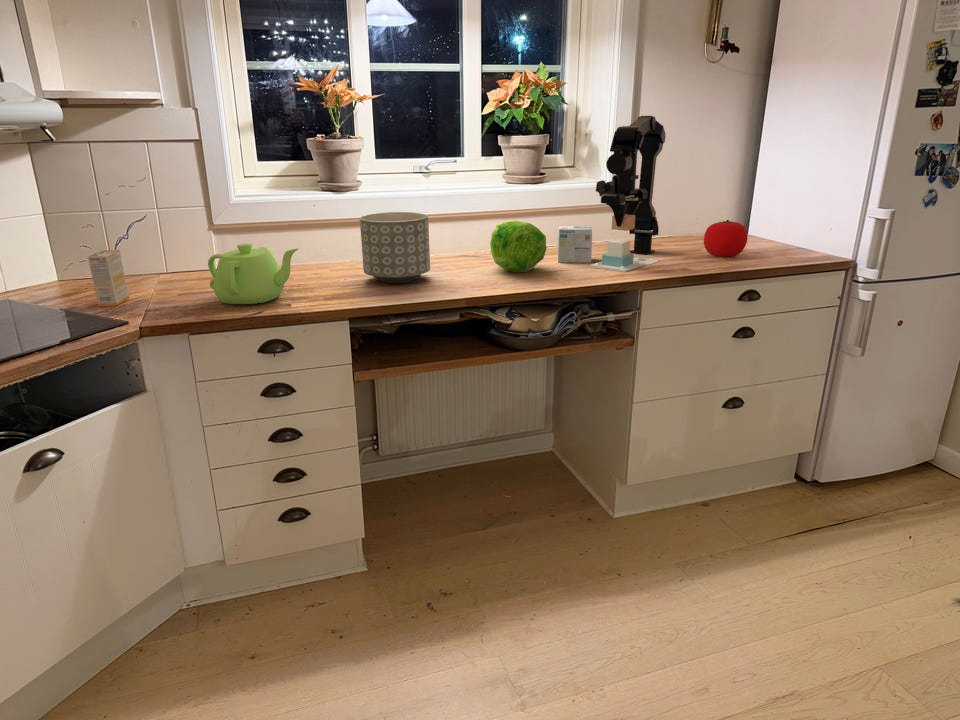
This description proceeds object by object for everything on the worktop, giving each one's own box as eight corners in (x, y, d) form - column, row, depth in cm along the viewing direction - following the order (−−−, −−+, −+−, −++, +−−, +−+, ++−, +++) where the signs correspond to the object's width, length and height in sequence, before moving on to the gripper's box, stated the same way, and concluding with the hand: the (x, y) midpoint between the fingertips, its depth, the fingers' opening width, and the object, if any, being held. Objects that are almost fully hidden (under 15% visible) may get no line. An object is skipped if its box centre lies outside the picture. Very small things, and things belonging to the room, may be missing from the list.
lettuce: (526, 269, 217) (530, 221, 214) (552, 276, 199) (556, 223, 195) (477, 267, 212) (480, 217, 209) (498, 274, 193) (502, 220, 190)
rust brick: (619, 227, 208) (620, 213, 207) (634, 228, 205) (635, 215, 204) (611, 229, 205) (612, 215, 203) (626, 230, 202) (627, 217, 200)
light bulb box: (590, 258, 220) (592, 225, 217) (591, 263, 214) (593, 228, 210) (557, 258, 221) (558, 225, 218) (557, 263, 215) (558, 228, 211)
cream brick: (614, 252, 211) (615, 239, 210) (629, 254, 208) (630, 241, 207) (606, 254, 208) (607, 241, 206) (621, 256, 205) (622, 243, 203)
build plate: (610, 260, 217) (610, 249, 216) (644, 265, 210) (645, 253, 209) (590, 266, 209) (590, 255, 207) (625, 272, 201) (625, 260, 200)
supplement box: (111, 298, 180) (101, 249, 175) (129, 298, 180) (120, 249, 176) (97, 307, 172) (86, 256, 168) (117, 306, 172) (106, 255, 168)
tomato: (717, 261, 214) (721, 224, 210) (695, 253, 226) (698, 218, 222) (753, 259, 217) (758, 222, 213) (729, 251, 229) (733, 216, 225)
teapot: (204, 298, 180) (196, 243, 175) (277, 286, 191) (271, 234, 186) (227, 313, 166) (219, 254, 161) (305, 299, 177) (299, 244, 172)
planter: (403, 269, 208) (399, 209, 202) (444, 279, 195) (442, 215, 189) (351, 280, 196) (346, 217, 190) (391, 291, 183) (387, 224, 177)
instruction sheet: (630, 257, 221) (630, 256, 221) (658, 261, 215) (659, 260, 215) (619, 261, 216) (619, 260, 216) (648, 265, 210) (648, 264, 210)
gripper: (617, 168, 211) (614, 219, 216) (585, 173, 197) (583, 227, 203) (650, 170, 204) (646, 222, 210) (620, 174, 191) (617, 230, 196)
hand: (623, 225), depth 205 cm, fingers closed on rust brick, 5 cm apart
